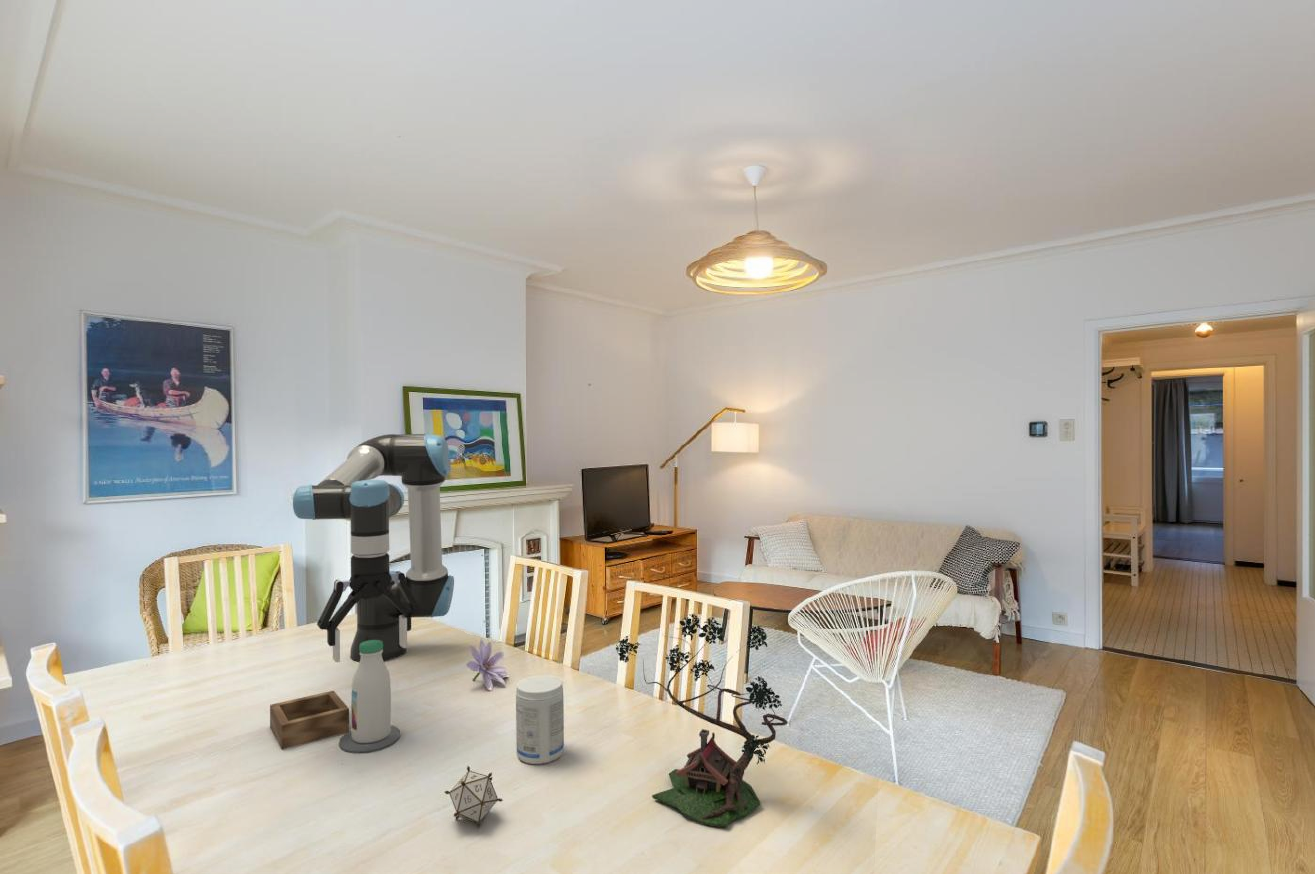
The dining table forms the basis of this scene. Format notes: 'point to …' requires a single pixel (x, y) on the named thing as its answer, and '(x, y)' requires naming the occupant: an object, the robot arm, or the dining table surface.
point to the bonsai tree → (710, 773)
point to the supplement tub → (539, 719)
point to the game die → (473, 796)
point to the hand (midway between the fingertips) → (370, 653)
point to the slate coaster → (354, 747)
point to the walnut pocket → (308, 719)
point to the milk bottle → (371, 695)
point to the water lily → (487, 664)
